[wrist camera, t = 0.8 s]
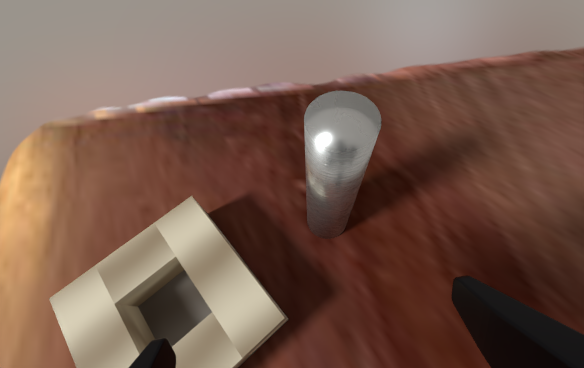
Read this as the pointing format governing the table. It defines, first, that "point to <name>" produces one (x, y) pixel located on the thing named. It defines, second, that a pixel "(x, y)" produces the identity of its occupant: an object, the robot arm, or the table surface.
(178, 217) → the socket block
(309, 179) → the steel pin
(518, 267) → the table surface
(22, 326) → the table surface
